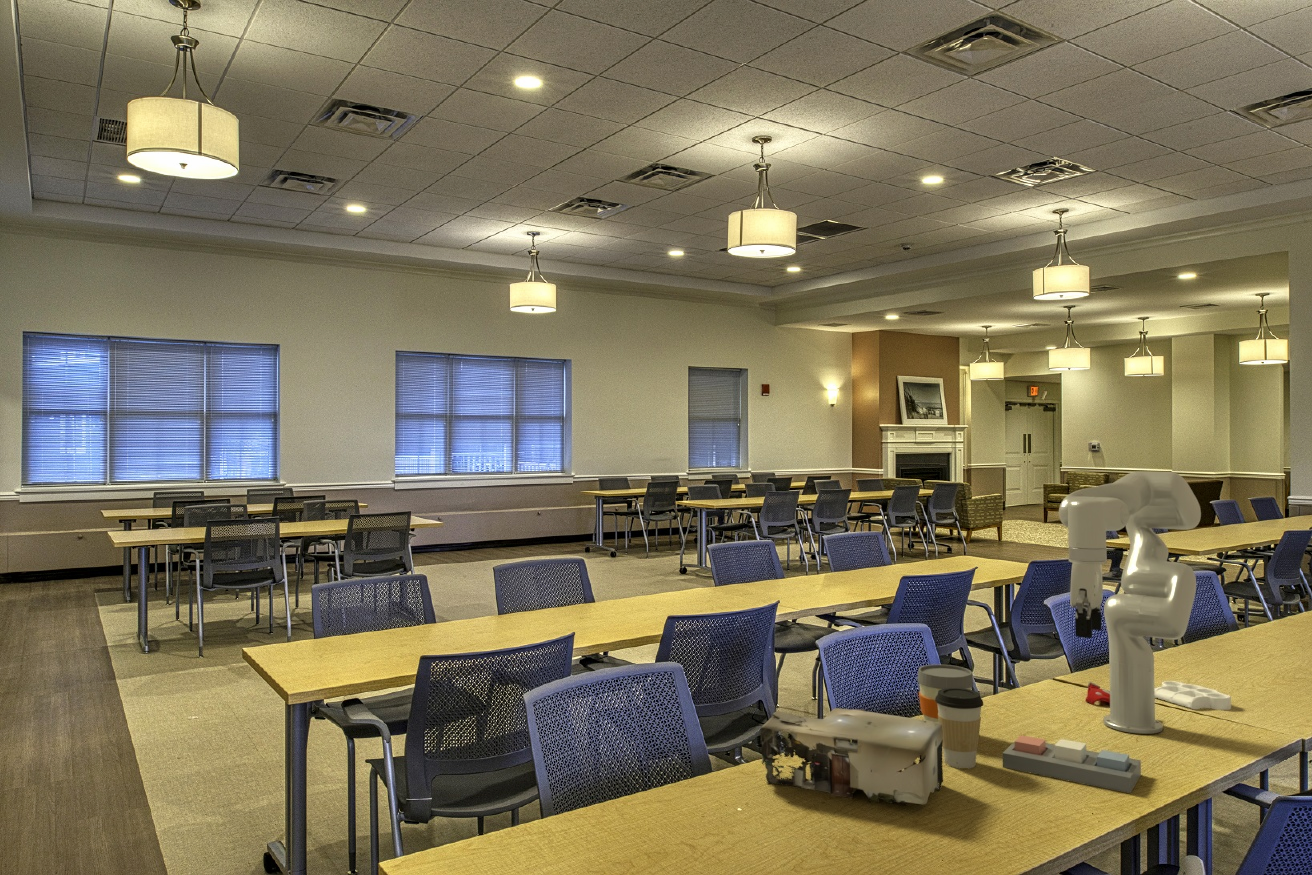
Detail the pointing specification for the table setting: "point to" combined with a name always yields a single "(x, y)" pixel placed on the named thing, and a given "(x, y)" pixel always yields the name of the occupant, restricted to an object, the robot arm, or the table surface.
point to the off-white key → (1070, 751)
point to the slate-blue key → (1113, 760)
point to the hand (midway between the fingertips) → (1088, 633)
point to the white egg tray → (1192, 696)
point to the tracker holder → (1097, 694)
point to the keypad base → (1073, 768)
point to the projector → (858, 754)
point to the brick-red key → (1030, 745)
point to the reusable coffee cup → (939, 685)
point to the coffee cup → (959, 725)
